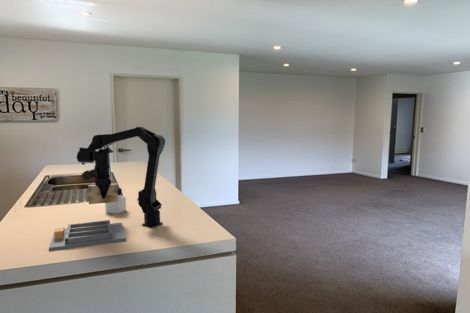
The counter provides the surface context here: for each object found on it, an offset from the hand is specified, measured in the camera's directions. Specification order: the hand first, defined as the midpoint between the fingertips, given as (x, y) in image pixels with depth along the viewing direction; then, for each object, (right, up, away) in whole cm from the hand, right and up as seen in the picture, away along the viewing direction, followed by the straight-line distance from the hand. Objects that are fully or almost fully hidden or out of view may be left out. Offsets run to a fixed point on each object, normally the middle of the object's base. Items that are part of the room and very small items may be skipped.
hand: (103, 197), depth 150 cm
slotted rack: (+1, -13, -17) cm, 21 cm away
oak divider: (0, -2, 0) cm, 2 cm away
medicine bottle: (-1, -10, +20) cm, 22 cm away
